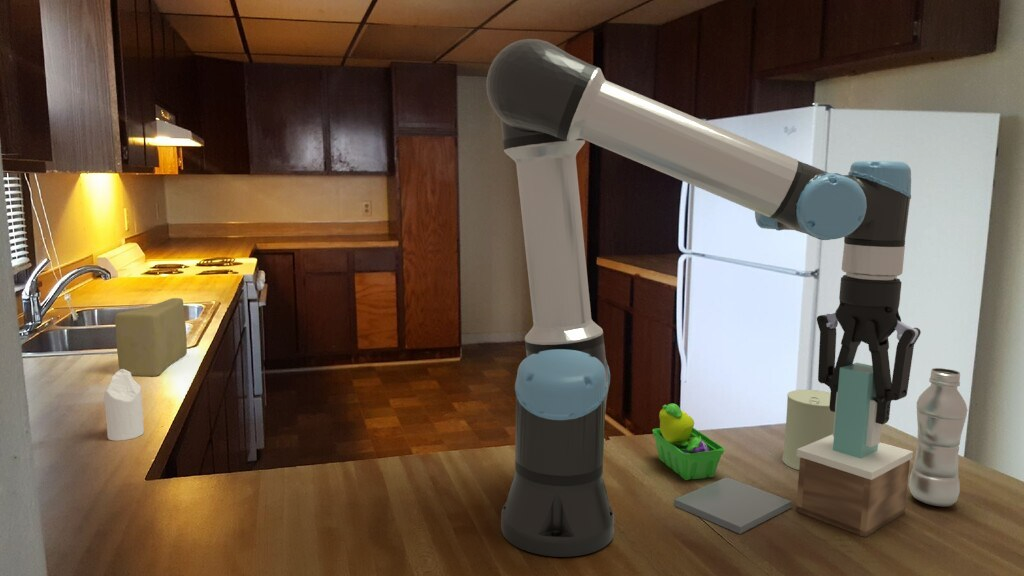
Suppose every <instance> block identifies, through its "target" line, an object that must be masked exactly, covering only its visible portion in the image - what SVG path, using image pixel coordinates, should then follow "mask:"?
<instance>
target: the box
mask: <svg viewBox="0 0 1024 576" xmlns="http://www.w3.org/2000/svg"><path fill="white" fill-rule="evenodd" d="M910 462H911V459H910V460H908V461H906V462H904V463H903V464H901V465H899V466H897V467H895V468H893V469H891V470H889V471H887V472H886V473H884V474H882V475H880V476H878V477H876V478H874V479H872V480H870V479H867V478H864V477H860V476H857V475H854V474H851V473H848V472H845V471H842V470H839V469H835V468H832V467H829V466H826V465H823V464H820V463H817V462H814V461H811V460H807V459H804V458H800V466H799V470H798V478H797V479H798V480H797V494H796V506H795V511H796V512H797V513H800V514H803V515H805V516H808V517H810V518H814V519H816V520H818V521H822V523H823V522H824V523H826V524H830V525H831V526H834V527H838V528H840V529H843V530H845V531H847V532H850V533H853V534H855V535H858V536H861V537H863V538H867V537H869V536H870V535H871V534H873V533H875V532H876V531H878V530H880V529H881V528H883V527H885V526H887V525H888V524H889V523H891V522H892V521H894V520H895V519H896V520H897V518H898V517H901V516H902V515H903V514H905V512H906V505H907V503H906V501H907V495H908V494H907V492H908V485H909V472H910Z"/></svg>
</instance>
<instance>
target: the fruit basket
mask: <svg viewBox="0 0 1024 576" xmlns="http://www.w3.org/2000/svg"><path fill="white" fill-rule="evenodd" d="M658 417H659V428H658V427H657V428H653V429H652V431H651V432H652V435H653V437H654V440H655V444H656V449H657V454H658V457H659V458H658V459H659V461H661V462H662V463H664V464H665V466H667V467H668V468H669V469H672V470H673V472H674V473H676V474H677V475H679V476H680V477H681V478H682V479H684V481H689V480H699V479H706V478H713V477H714V476H715V473H716V472H717V471H716V470H717V468H718V465H719V463H720V460H721V458H722V457H721V456H722V455H723V454H724V452H725V447H723V446H722V445H721V444H719V443H718V442H717V441H714V440H713V439H711V438H710V437H708V436H707V435H706V434H704V433H702V432H701V431H699V430H697V429H696V428H695V427H694V426H695V421H694V418H693V417H691V416H690V415H689V414H688V413H687V412H685V411H683V410H682V409H681V407H679V405H678V404H676V403H669V404H664V405H662V409H660V411H659V415H658Z"/></svg>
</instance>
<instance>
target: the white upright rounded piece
mask: <svg viewBox="0 0 1024 576" xmlns="http://www.w3.org/2000/svg"><path fill="white" fill-rule="evenodd" d="M142 394H143V393H142V388H141V386H140V384H139V383H138V382H136V381H135V379H134V378H133V376H131V372H129V371H127V370H125V369H120V370H119V369H118V370H117V371H116V372H114V375H113V376H111V379H110V382H109V383H108V386H107V387H106V388H105V391H104V393H103V399H104V400H103V401H104V409H105V419H106V432H107V433H106V434H107V439H108V440H109V441H114V442H116V441H117V442H118V441H119V442H121V441H128V440H133V439H136V438H139V437H140V436H142V435H143V434H144V432H145V431H144V430H145V429H144V426H145V425H144V411H143V410H144V409H143V396H142Z"/></svg>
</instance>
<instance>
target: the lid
mask: <svg viewBox="0 0 1024 576" xmlns="http://www.w3.org/2000/svg"><path fill="white" fill-rule="evenodd" d="M874 398H876V393H875V384H874V375H873V366H872V364H866V363H860V362H853V364H850V365H847V366H844V367H841V368H840V373H839V384H838V395H837V407H836V418H835V430H834V436H833V434H832V435H830V436H828V437H825V438H823V439H820V440H818V441H816V442H813V443H811V444H808V445H806V446H804V447H801V448H799V449H797V455H796V456H798V457H801V458H804V459H807V460H811V461H814V462H817V463H820V464H823V465H826V466H829V467H832V468H835V469H839V470H842V471H845V472H848V473H851V474H854V475H857V476H860V477H864V478H867V479H870V480H872V479H874V478H876V477H878V476H880V475H882V474H884V473H886V472H887V471H889V470H891V469H893V468H895V467H897V466H899V465H901V464H903V463H904V462H906V461H908V460H910V461H911V460H912V459H913V454H914V451H912V450H909V449H906V448H902V447H899V446H894V445H891V444H888V443H884V442H881V441H880V443H879V444H877V445H875V446H873V447H868V446H866V437H867V427H868V416H869V406H870V400H872V399H874Z"/></svg>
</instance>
